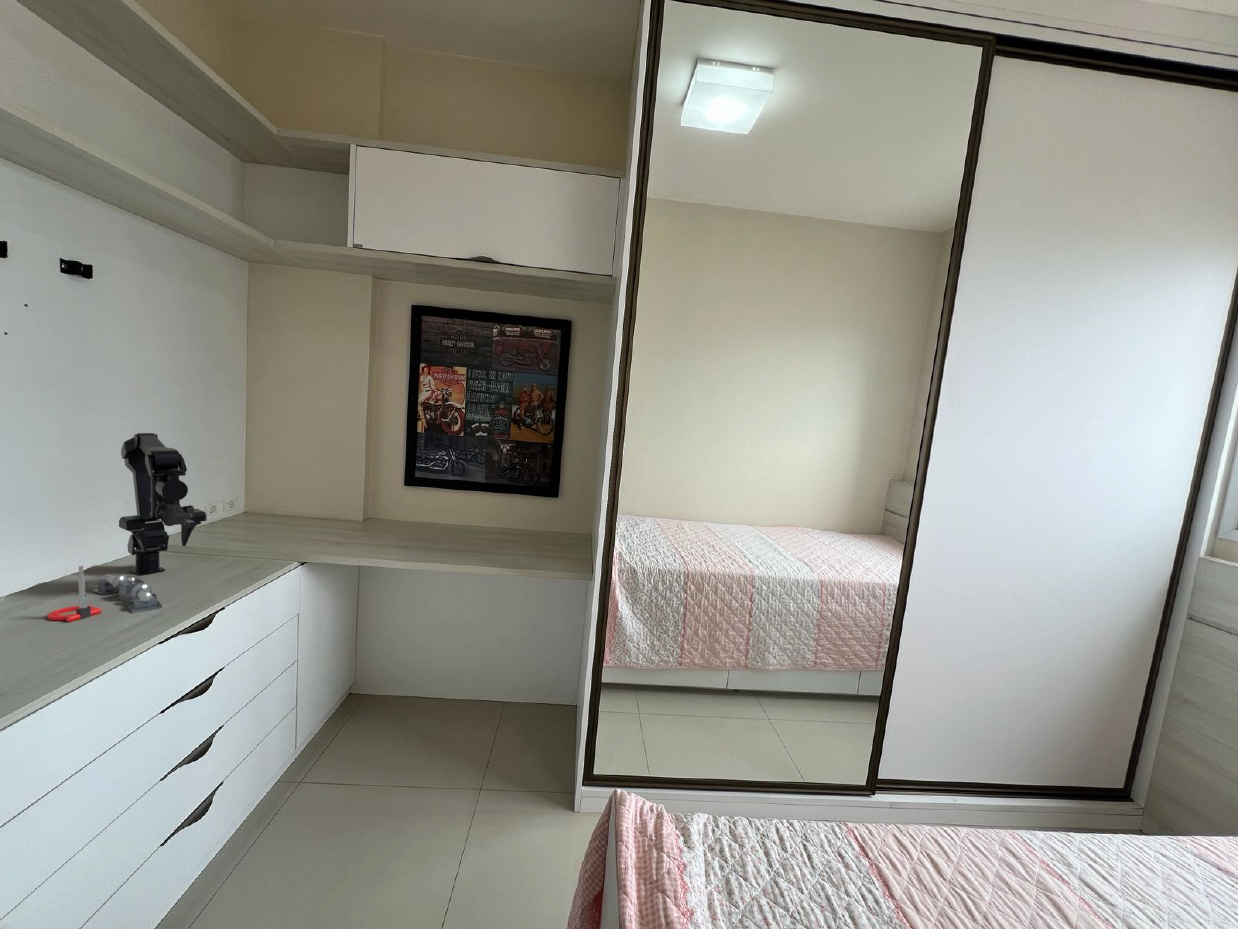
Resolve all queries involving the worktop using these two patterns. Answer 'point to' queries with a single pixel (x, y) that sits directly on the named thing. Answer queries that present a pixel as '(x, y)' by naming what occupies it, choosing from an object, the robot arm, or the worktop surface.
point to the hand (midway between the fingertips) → (164, 548)
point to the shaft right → (143, 599)
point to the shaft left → (110, 584)
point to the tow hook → (81, 610)
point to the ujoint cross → (128, 588)
